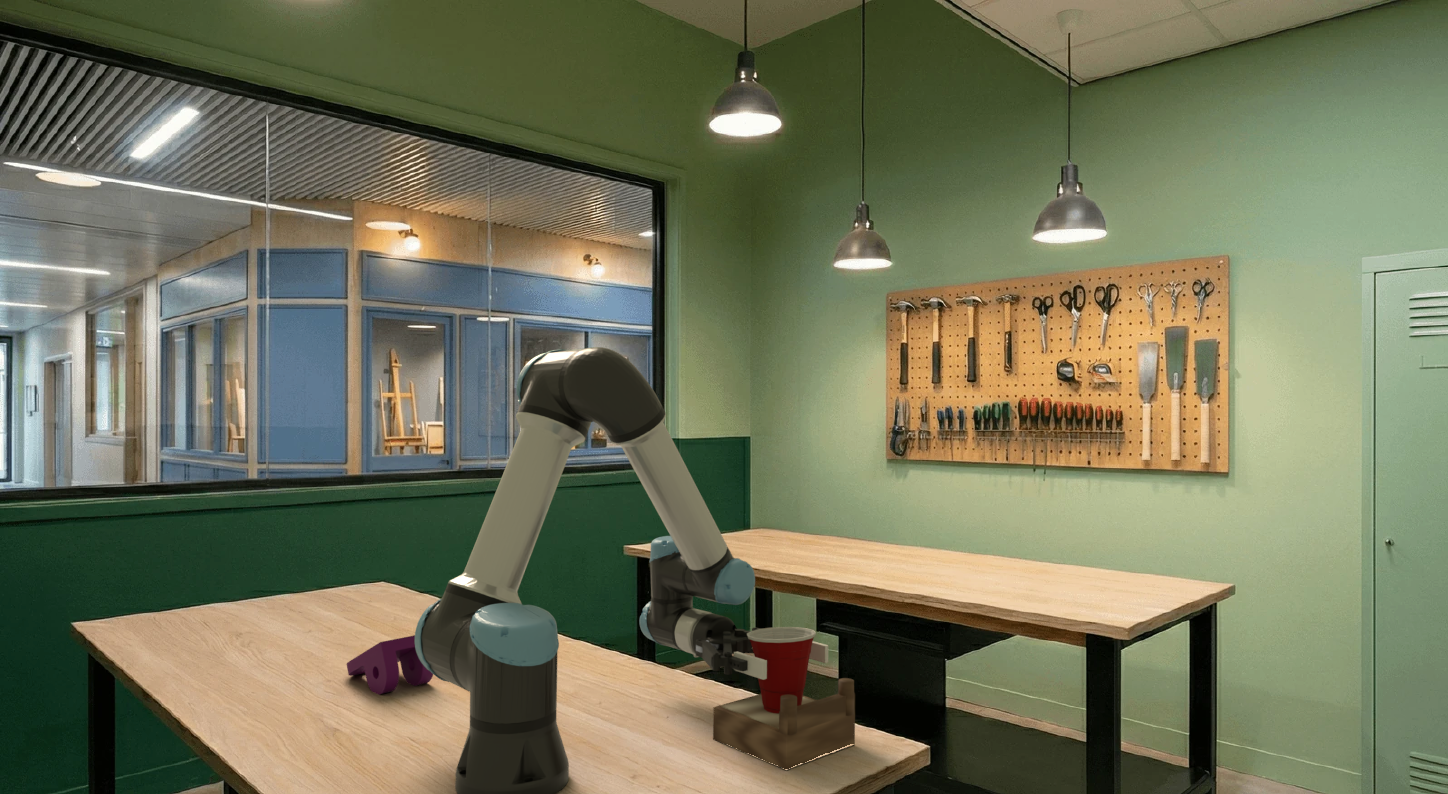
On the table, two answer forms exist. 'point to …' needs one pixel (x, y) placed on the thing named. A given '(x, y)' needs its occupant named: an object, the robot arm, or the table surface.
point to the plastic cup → (782, 662)
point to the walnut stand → (788, 726)
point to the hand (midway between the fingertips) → (797, 662)
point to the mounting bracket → (390, 665)
